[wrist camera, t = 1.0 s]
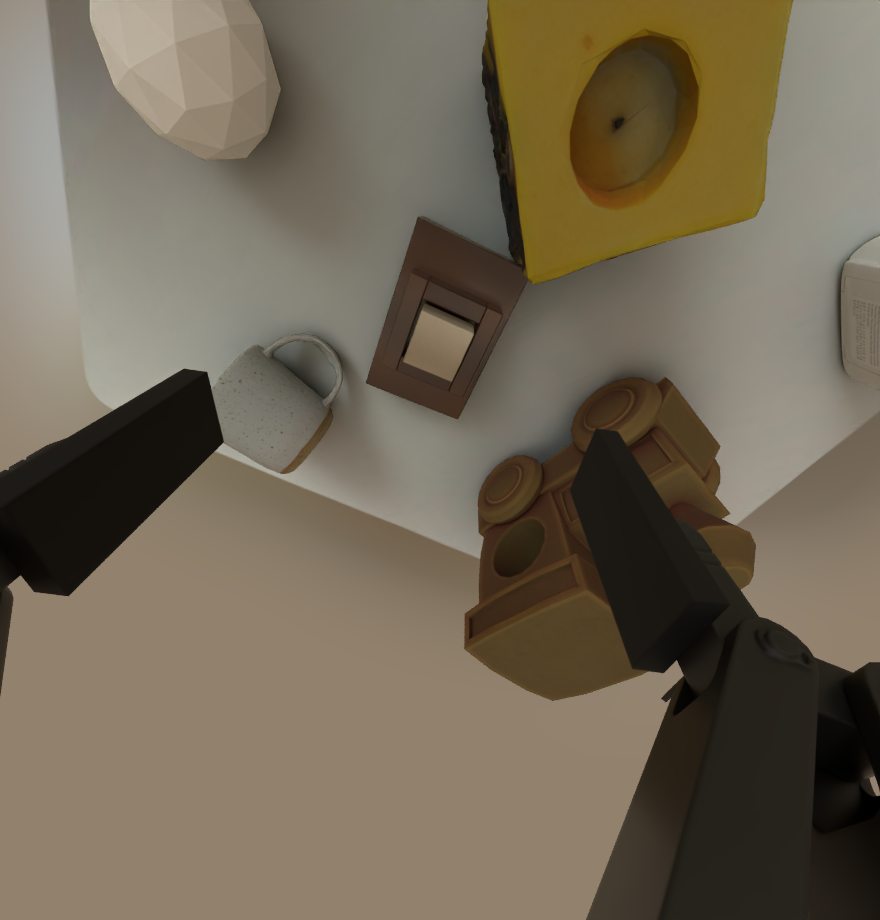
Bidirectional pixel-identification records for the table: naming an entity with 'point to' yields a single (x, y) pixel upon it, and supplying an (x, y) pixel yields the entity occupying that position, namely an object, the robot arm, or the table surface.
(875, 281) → the photo printer
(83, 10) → the table surface
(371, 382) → the brown stepped block
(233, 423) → the ceramic mug
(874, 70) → the table surface
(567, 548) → the wooden toy train
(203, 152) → the geometric ball
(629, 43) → the candle
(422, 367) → the beige square block
